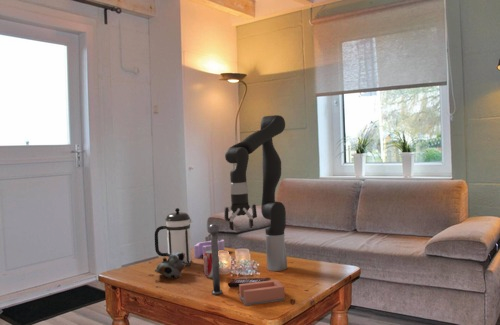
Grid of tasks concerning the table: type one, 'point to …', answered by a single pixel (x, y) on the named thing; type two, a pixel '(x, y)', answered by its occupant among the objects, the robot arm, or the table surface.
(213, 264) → the stand
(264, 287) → the c link
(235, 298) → the table surface
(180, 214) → the coffee press
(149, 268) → the table surface
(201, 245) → the clip
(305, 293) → the table surface
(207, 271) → the soda can
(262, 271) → the table surface
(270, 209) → the robot arm
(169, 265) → the dark grey lumpy piece
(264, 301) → the felt mat
